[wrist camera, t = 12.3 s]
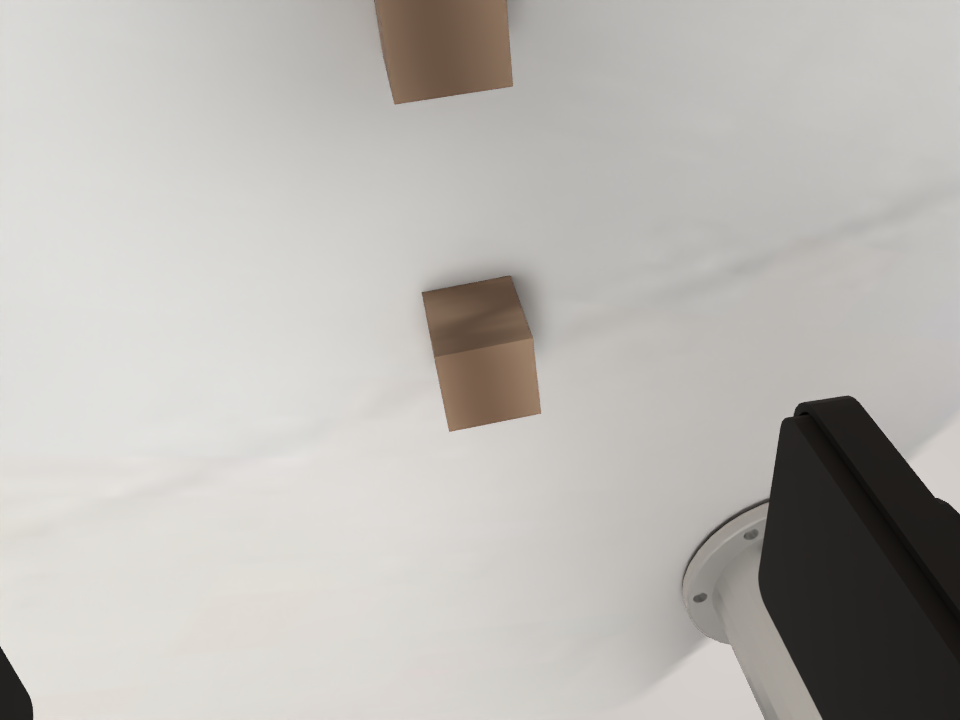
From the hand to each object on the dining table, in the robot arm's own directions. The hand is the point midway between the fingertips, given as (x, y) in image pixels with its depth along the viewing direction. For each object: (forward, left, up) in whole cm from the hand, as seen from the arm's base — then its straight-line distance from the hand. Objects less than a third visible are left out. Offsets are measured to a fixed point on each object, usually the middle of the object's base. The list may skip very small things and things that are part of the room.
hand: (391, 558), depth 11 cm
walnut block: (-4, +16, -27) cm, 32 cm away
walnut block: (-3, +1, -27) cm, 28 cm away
